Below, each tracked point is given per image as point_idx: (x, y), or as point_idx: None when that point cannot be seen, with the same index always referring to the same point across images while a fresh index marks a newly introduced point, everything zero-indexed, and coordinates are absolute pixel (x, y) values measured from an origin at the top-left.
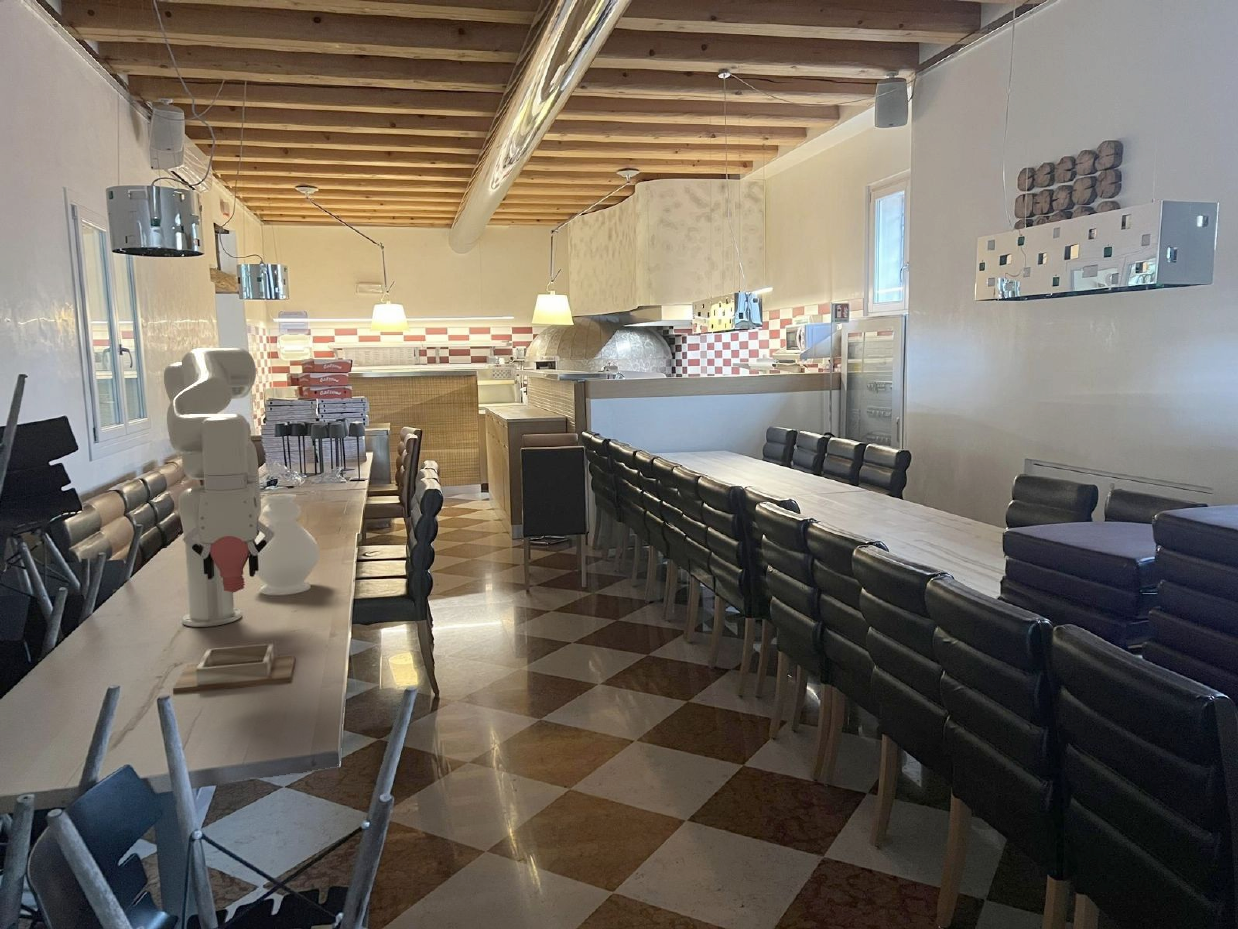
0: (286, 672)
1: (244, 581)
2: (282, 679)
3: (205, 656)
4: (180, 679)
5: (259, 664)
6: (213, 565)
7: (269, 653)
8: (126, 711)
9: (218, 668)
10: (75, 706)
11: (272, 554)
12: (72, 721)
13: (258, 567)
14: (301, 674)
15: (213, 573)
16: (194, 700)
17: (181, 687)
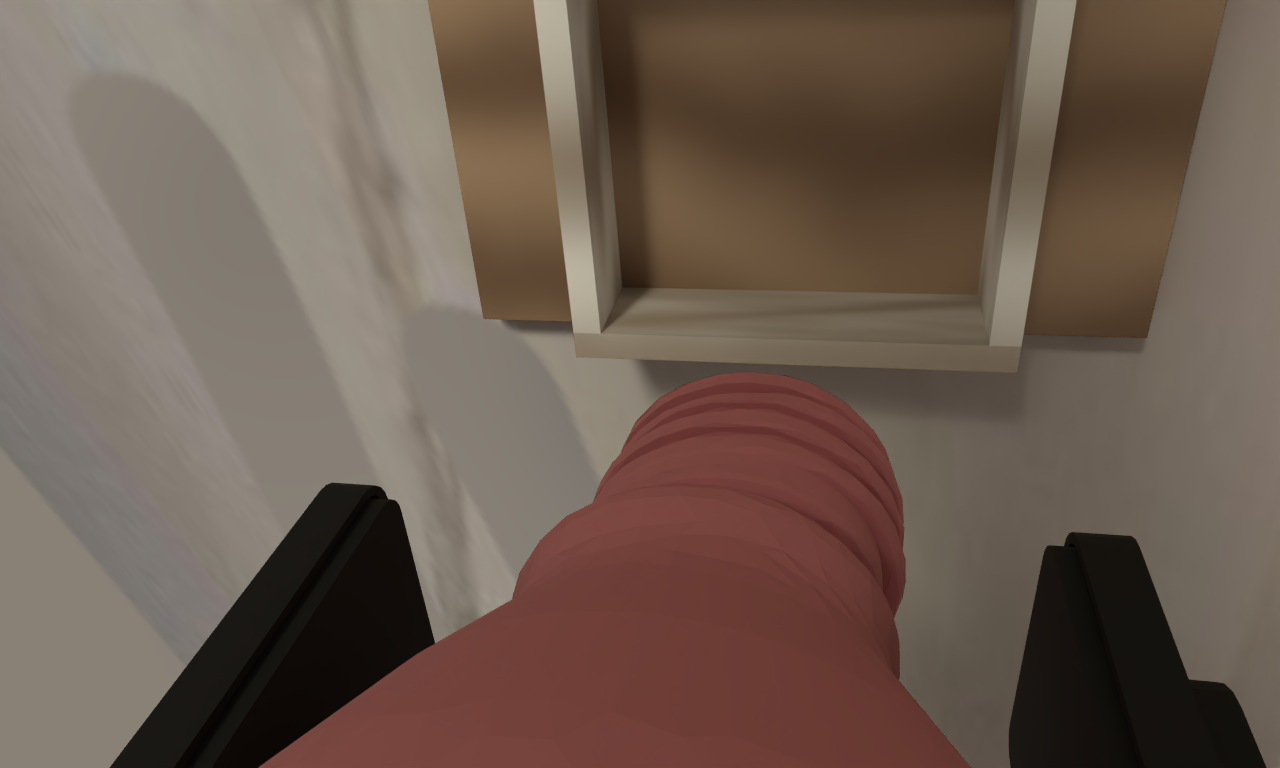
0: (1135, 243)
1: (902, 529)
2: (1095, 333)
3: (559, 100)
4: (472, 183)
5: (966, 370)
6: (315, 658)
7: (1045, 164)
8: (368, 453)
9: (705, 356)
10: (113, 330)
11: None
12: (209, 485)
13: (1231, 713)
14: (1238, 187)
15: (390, 588)
16: (628, 420)
17: (524, 319)
